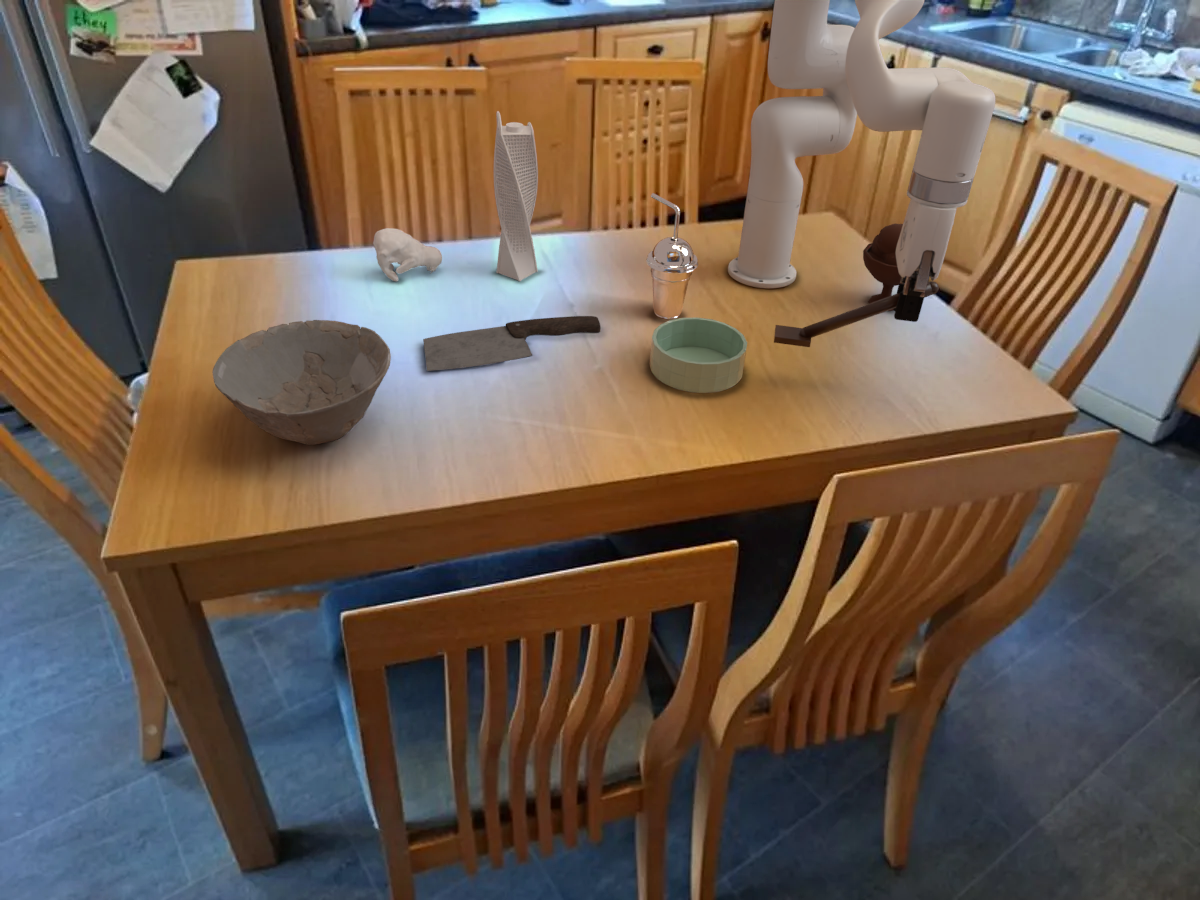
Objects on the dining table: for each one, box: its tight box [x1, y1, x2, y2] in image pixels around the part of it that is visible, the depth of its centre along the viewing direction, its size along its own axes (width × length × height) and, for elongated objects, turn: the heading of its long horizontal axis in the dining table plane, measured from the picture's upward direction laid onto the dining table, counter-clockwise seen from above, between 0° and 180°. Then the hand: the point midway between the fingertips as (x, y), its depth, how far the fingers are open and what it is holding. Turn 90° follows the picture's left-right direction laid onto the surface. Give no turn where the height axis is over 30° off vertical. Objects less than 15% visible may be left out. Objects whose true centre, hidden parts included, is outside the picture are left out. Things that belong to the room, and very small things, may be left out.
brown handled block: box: [773, 280, 940, 348], centre depth 125 cm, size 21×4×11 cm, turn 79°
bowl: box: [649, 316, 748, 394], centre depth 135 cm, size 14×14×6 cm
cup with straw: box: [645, 192, 699, 320], centre depth 145 cm, size 8×9×20 cm
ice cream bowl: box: [862, 223, 904, 312], centre depth 153 cm, size 11×11×15 cm
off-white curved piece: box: [372, 227, 443, 283], centre depth 157 cm, size 6×8×12 cm
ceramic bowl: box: [212, 319, 392, 446], centre depth 118 cm, size 22×23×10 cm
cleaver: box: [422, 315, 601, 372], centre depth 140 cm, size 30×10×2 cm, turn 110°
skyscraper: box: [493, 110, 539, 282], centre depth 154 cm, size 8×8×28 cm
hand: (904, 314), depth 124 cm, fingers closed on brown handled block
